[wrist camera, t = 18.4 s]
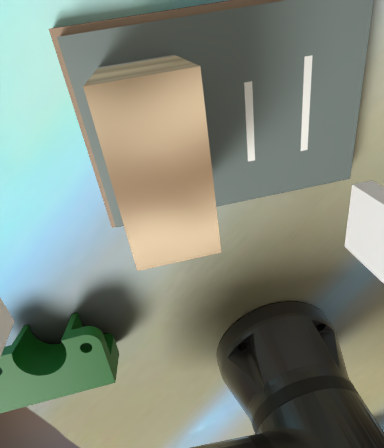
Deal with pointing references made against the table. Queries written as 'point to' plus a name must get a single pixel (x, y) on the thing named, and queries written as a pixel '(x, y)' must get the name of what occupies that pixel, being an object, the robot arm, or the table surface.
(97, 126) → the wooden block
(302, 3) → the slate board
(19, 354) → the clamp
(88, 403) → the table surface
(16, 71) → the table surface
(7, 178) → the table surface
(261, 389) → the robot arm
